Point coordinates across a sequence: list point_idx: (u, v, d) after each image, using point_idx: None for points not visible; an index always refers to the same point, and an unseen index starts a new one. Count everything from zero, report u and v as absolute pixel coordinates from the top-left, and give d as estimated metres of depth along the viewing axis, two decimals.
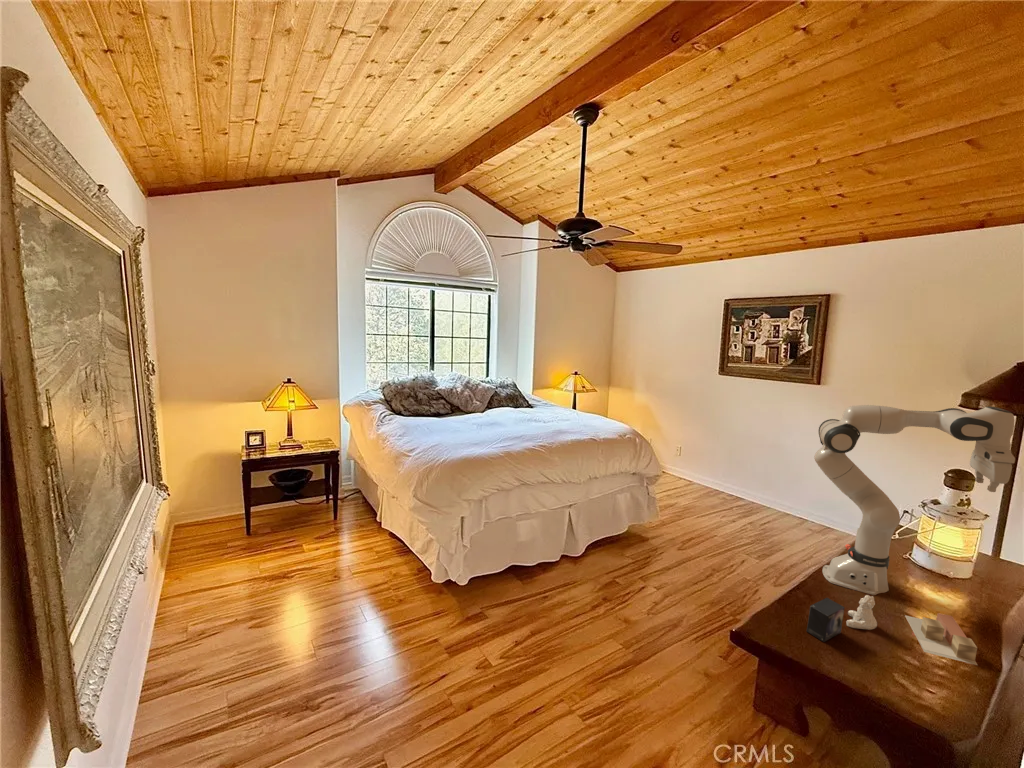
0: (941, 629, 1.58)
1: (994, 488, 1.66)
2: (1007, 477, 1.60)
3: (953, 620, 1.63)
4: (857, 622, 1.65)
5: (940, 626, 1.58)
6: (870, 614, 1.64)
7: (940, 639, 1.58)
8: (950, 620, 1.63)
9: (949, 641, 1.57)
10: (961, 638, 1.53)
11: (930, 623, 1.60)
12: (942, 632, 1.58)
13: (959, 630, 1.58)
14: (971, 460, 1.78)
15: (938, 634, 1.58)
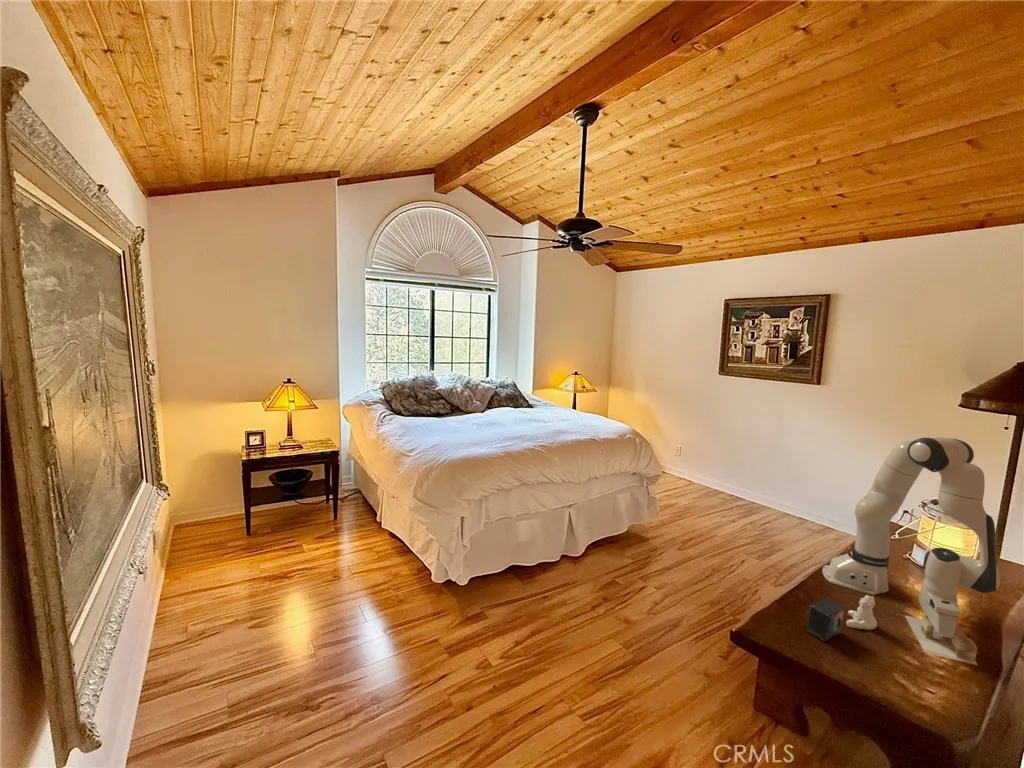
0: None
1: (938, 635, 1.57)
2: (952, 631, 1.50)
3: None
4: (857, 622, 1.65)
5: None
6: (870, 614, 1.64)
7: (940, 639, 1.58)
8: None
9: (949, 641, 1.57)
10: (961, 638, 1.53)
11: (930, 622, 1.60)
12: None
13: (959, 630, 1.58)
14: (920, 597, 1.68)
15: None
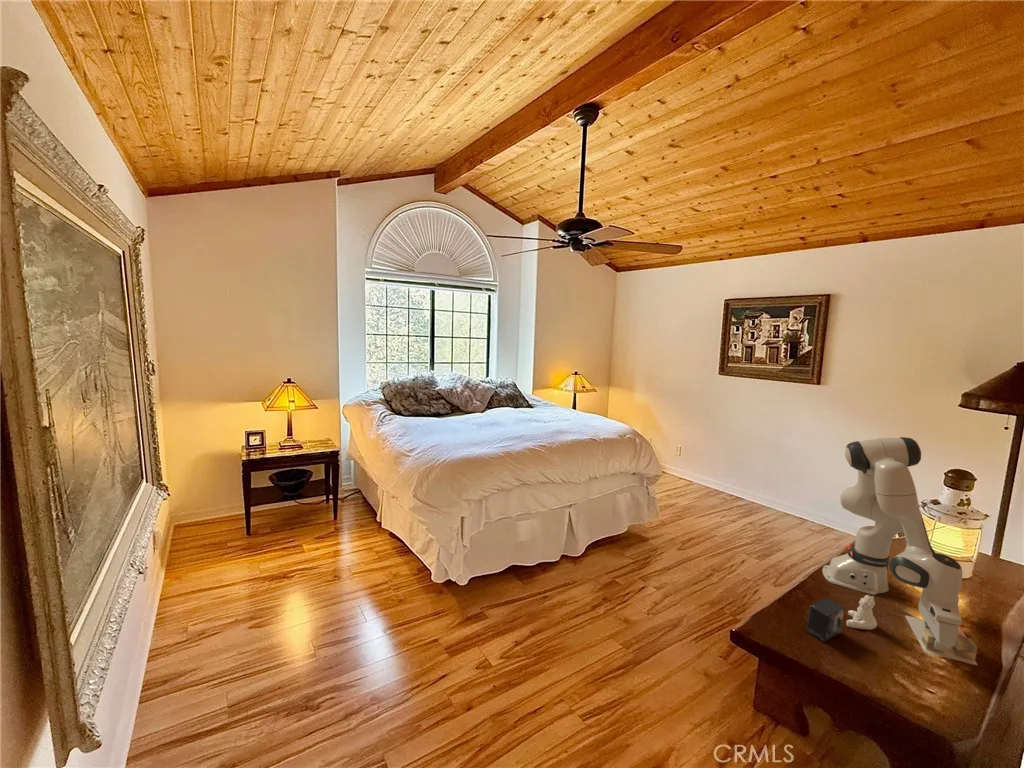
0: None
1: (940, 646, 1.51)
2: (953, 641, 1.45)
3: None
4: (857, 622, 1.65)
5: None
6: (870, 614, 1.64)
7: (942, 651, 1.53)
8: None
9: None
10: (961, 638, 1.53)
11: (931, 634, 1.55)
12: None
13: (959, 630, 1.58)
14: (919, 604, 1.62)
15: None
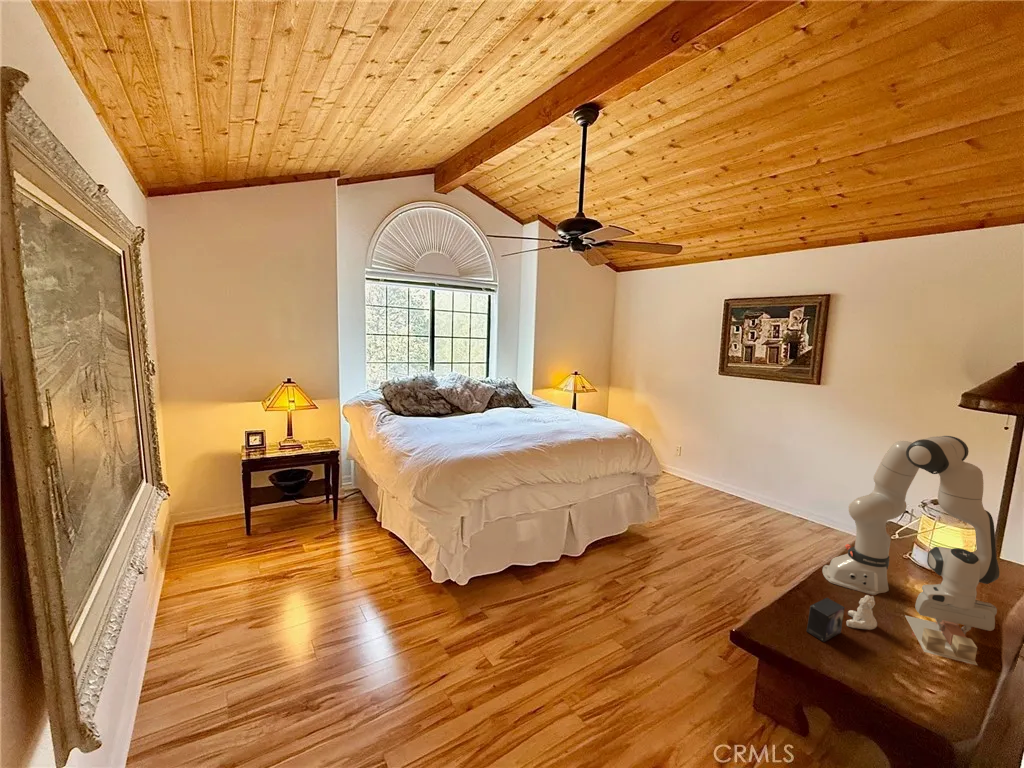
0: (943, 640, 1.52)
1: (939, 626, 1.62)
2: (918, 607, 1.63)
3: None
4: (857, 622, 1.65)
5: (942, 637, 1.53)
6: (870, 614, 1.64)
7: (942, 651, 1.53)
8: None
9: (949, 641, 1.57)
10: (961, 638, 1.53)
11: (931, 634, 1.55)
12: (944, 644, 1.52)
13: (959, 630, 1.58)
14: None
15: (939, 645, 1.53)
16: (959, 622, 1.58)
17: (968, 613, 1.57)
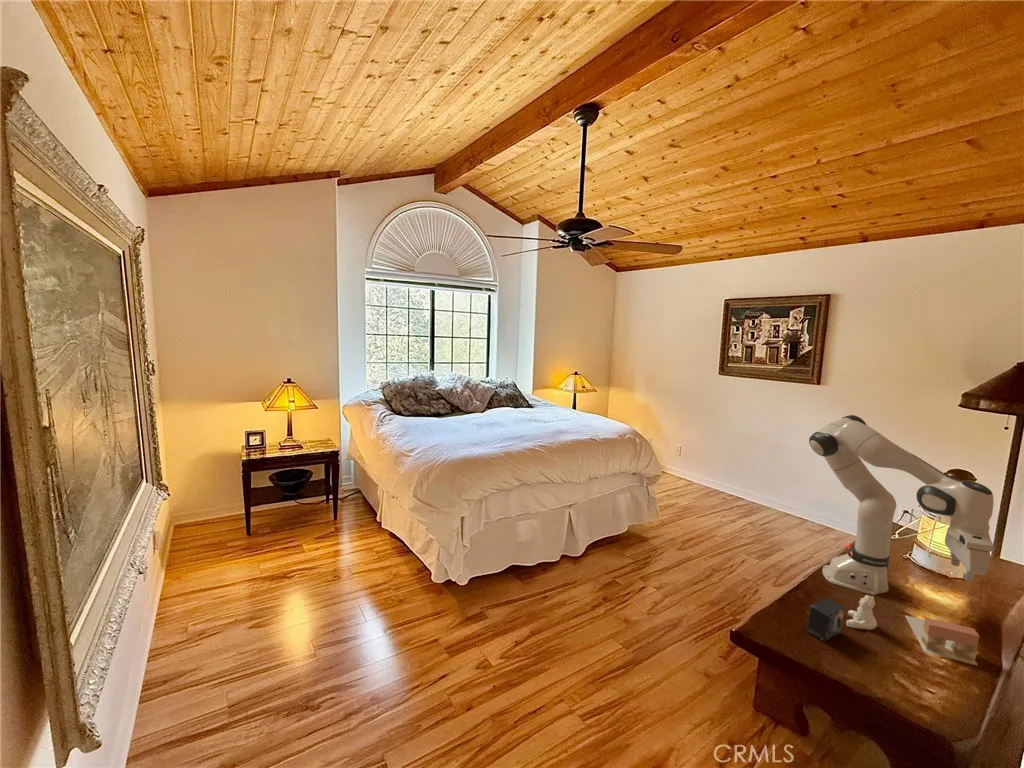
0: (943, 640, 1.52)
1: (970, 577, 1.44)
2: (985, 568, 1.39)
3: (936, 620, 1.55)
4: (857, 622, 1.65)
5: None
6: (870, 614, 1.64)
7: (942, 651, 1.53)
8: (941, 623, 1.54)
9: (974, 644, 1.49)
10: None
11: None
12: (944, 644, 1.52)
13: (959, 626, 1.53)
14: (946, 538, 1.56)
15: (939, 645, 1.53)
16: None
17: None
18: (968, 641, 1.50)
